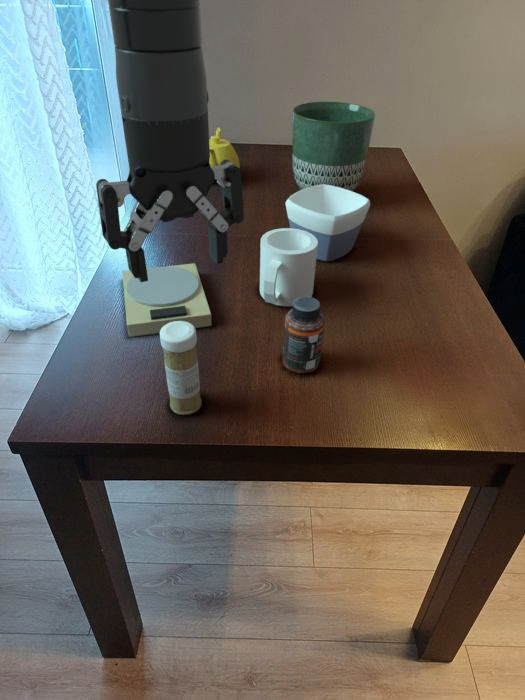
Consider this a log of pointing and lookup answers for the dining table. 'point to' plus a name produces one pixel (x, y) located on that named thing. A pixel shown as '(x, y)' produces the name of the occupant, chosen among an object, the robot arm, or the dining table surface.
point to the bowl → (328, 217)
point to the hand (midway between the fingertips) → (180, 269)
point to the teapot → (221, 150)
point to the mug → (287, 265)
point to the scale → (165, 299)
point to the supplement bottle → (303, 335)
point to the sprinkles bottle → (181, 366)
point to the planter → (330, 143)
